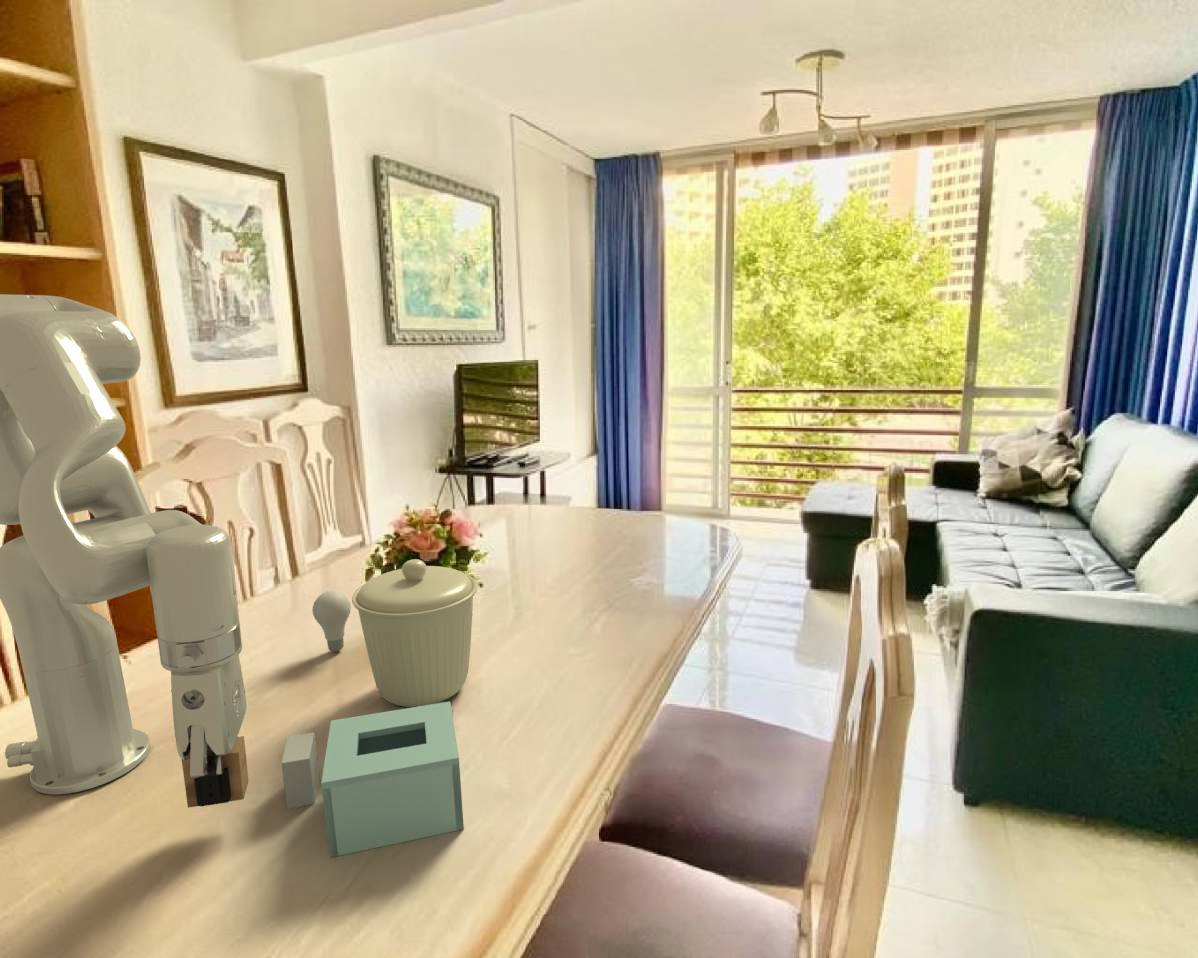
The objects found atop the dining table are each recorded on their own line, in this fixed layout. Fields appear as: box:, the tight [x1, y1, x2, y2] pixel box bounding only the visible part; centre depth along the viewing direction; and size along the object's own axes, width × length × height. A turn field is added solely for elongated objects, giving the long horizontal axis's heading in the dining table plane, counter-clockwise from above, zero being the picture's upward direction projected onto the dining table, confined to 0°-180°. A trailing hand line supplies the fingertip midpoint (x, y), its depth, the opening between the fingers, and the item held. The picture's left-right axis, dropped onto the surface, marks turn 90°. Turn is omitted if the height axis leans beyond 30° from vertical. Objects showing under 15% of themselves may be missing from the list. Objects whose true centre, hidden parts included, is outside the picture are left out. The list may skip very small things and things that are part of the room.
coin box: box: [320, 701, 465, 858], centre depth 80 cm, size 14×12×9 cm
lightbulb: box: [312, 590, 352, 653], centre depth 118 cm, size 6×6×11 cm
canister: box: [351, 558, 478, 708], centre depth 104 cm, size 18×18×21 cm
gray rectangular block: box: [280, 732, 320, 809], centre depth 83 cm, size 6×3×6 cm, turn 16°
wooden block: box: [181, 735, 250, 808], centre depth 77 cm, size 6×3×6 cm, turn 106°
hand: (218, 790), depth 77 cm, fingers closed on wooden block, 3 cm apart
